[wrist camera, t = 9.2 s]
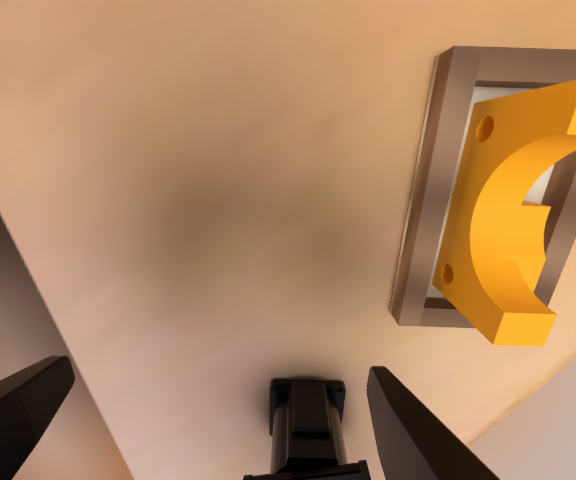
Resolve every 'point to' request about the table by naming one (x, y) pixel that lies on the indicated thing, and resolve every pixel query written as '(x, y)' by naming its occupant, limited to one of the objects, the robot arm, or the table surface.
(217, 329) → the table surface
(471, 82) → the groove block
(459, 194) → the pipe clamp
